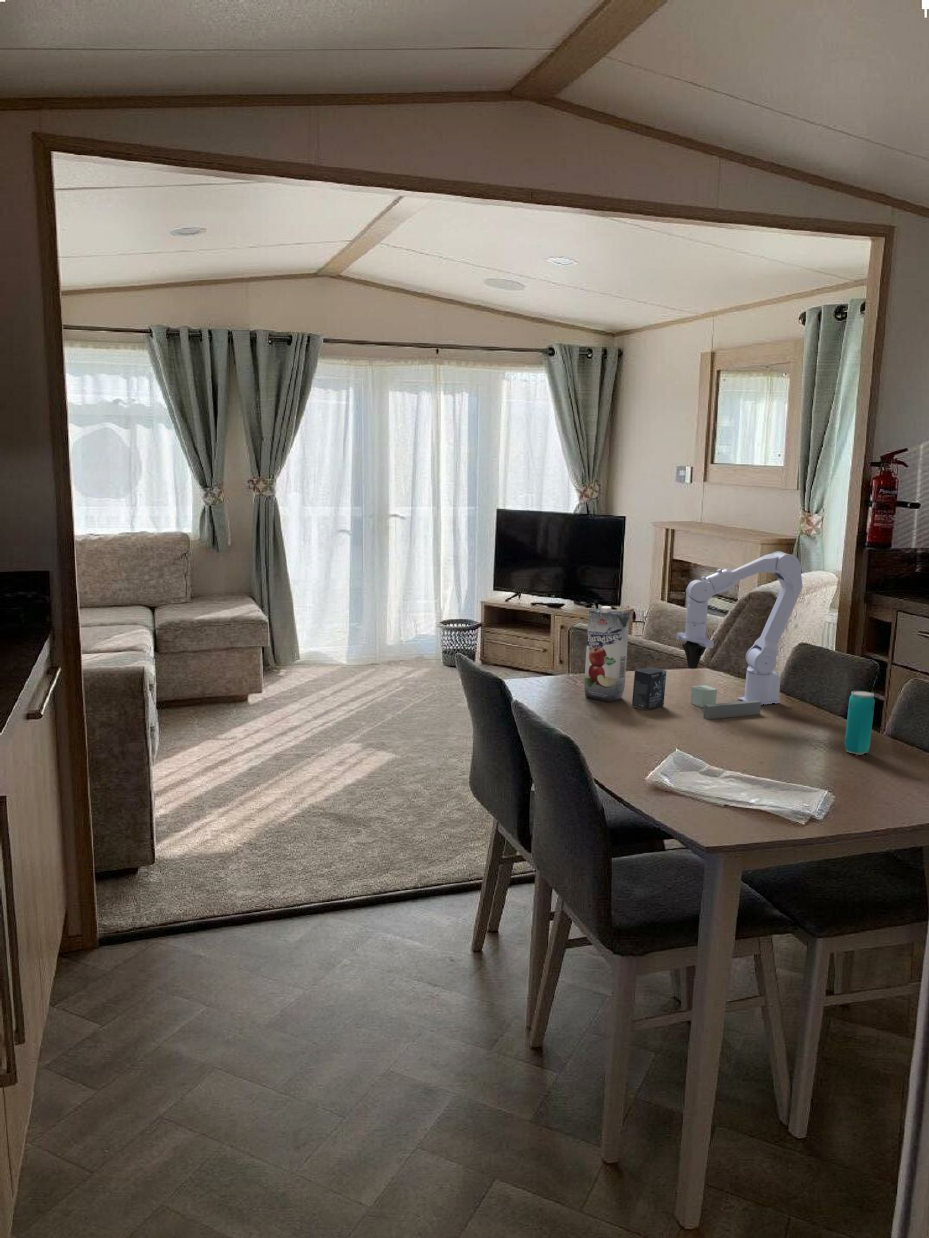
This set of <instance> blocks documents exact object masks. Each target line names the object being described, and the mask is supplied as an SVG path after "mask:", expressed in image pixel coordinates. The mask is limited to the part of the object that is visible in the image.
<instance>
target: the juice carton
mask: <svg viewBox="0 0 929 1238" xmlns="http://www.w3.org/2000/svg"><path fill="white" fill-rule="evenodd" d="M629 624H630V611H627V610H614V609H612V606H608V605H603V606H601V607H598V608H595V609H591V610H589V612H588V622H587V632H586V633H587V634H586V635H587V636H586V647H585V648H586V650H585V651H586V652H585V668H584V696H585V698H588V697H591V698H590V699H593V698H595V699H594V700H598V699H599V701H604V702H609V703H613V702H614V701H617V700H620V699H622V698H623V696H624V695H623V694H624V691H625V686H626V673H627V672H626V671H627V661H628V660H627V658H628V643H629V642H628V641H629V627H630V625H629ZM619 698H620V699H619Z"/></svg>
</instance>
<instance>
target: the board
mask: <svg viewBox="0 0 929 1238" xmlns="http://www.w3.org/2000/svg"><path fill="white" fill-rule="evenodd" d="M761 706H762V705H761V702H760V701H757V700H752V701H742V700H740V701H733V702H732V701H731V702H722V703H716V704H708V705H704V707H703V716H702V717H703V718H704V719H707V720H713V719H725V718H733V717H744V716H753V715H760V714H761V708H762V707H761Z"/></svg>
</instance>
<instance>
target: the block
mask: <svg viewBox="0 0 929 1238" xmlns="http://www.w3.org/2000/svg"><path fill="white" fill-rule="evenodd" d="M717 695H718V689H717V688H714V687H711V686H709V685H704V684H703V685H693V686H691V694H690V704H692V705H695V706H697V707H700V708H704V705H708V704H717Z"/></svg>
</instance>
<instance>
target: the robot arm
mask: <svg viewBox="0 0 929 1238" xmlns="http://www.w3.org/2000/svg"><path fill="white" fill-rule="evenodd" d="M802 569H803V565H802V564H801V563H800V560H799V559H798V557H797V556H796V555H793V554H790V553H786V552H784V551H781V550H777V551H774V552H772V553H768V554H764V555H763V556H761V557H759V558H756V559H754V560H752V561H750V562H747V563H745V564H743V565H741V566H739V567H737V568H735V569H733V570H729V569H726V568H723V569H722V568H719V569H716V572H715V573H713V574H712V573H711V574H709V575H707V576H705V575H704V576H701V577H700V578H701V580H700V579H694V580H692V581H690V582H689V583H688V585H687V586H686V589H685V593H686V595H687V605H686V606H687V607H686V616H685V617H686V618H685V630H684V632H681V631H680V632H676V640H679V641H680V640H681V641H684V642H685V643H682V645H681V646H682V649H683V650H684V654H685V657H686V660H687V661H686V662H687V666H688V667H687V668H688V669H694V670H695V669H697V668H698V666H699V662H700V660H701V658H702V655H703V653H704V652H705V650H706V649H714V646H715V644H714V643H715V642H714V641H712V640H710V639H709V638H707V637H706V632H707V630H706V629H707V619H708V608H709V607H708V603H709V600H710V599H711V596H716V595H718V594H720V593H722V592H725V591H728V590H730V589H732V588H733V587H735V584H736V583H737V582H738V581H741V580H745V579H746V578H749V577H751V576H755V575H758V574H760V573H769V574H770V573H771V574H773V575H774V576H776V577H777V579H778V581H779V584H780V585H781V588H780V591H779V593H778V595H777V598H776V600H775V603H774V604H773V607H772V609H771V612H770V613H769V615H768V618H767V620H766V623H765V625H764V627H763V630H762V632H761V634H760V636H759V637H758V638H757V639H756V640H755V641H754V643H753V645H752V646H751V647H750V648H748V650H747V651H746V653H745V660H746V661H745V662H746V663H747V666H748V667H747V668H746V673H745V674H746V677H745V686H744V696H738V697H737V700H740V701H752V700H757V701H760V702H761V706H763V704H764V705H773V704H772V703H775V704H780V703H781V700H779V698H780V690H781V687H780V686H781V678H780V676H779V674H778V673H777V672H776V671H774V670H775V668H776V666H777V656H778V654H779V645H778V644H779V642H780V640H781V637H782V634H783V633H784V630H785V628H786V626H787V624H788V621H789V619H790V617H791V615H792V613H793V611H794V608H795V605H796V604H797V601H798V599H799V597H800V594H801V592H802V590H803V577H802Z"/></svg>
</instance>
